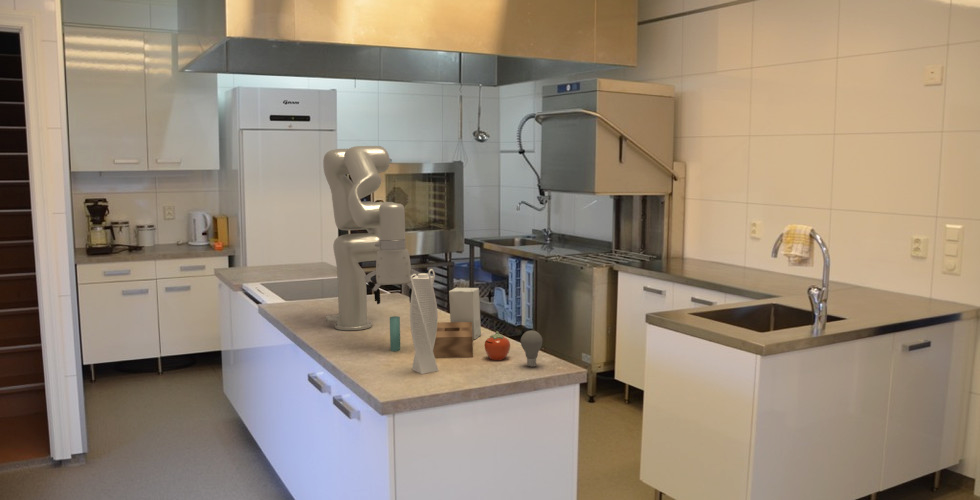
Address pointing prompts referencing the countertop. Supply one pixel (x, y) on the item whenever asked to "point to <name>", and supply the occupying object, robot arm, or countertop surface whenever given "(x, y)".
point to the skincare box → (466, 308)
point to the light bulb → (531, 346)
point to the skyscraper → (423, 322)
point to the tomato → (497, 346)
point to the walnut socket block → (453, 340)
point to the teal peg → (395, 333)
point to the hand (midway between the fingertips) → (394, 303)
